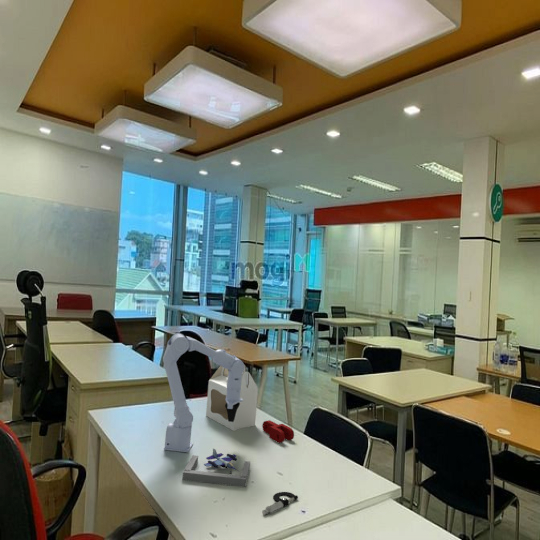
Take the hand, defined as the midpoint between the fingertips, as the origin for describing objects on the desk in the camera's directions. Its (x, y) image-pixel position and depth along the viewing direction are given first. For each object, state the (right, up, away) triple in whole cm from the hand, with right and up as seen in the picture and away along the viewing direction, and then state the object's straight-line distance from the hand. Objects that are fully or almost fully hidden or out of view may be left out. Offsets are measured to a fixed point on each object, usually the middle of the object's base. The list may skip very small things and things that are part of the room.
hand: (231, 421), depth 164 cm
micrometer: (+18, -11, -40) cm, 45 cm away
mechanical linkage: (+18, -12, +12) cm, 25 cm away
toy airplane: (-1, -9, -22) cm, 24 cm away
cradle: (-2, -9, -26) cm, 27 cm away
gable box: (-3, -10, +27) cm, 29 cm away
